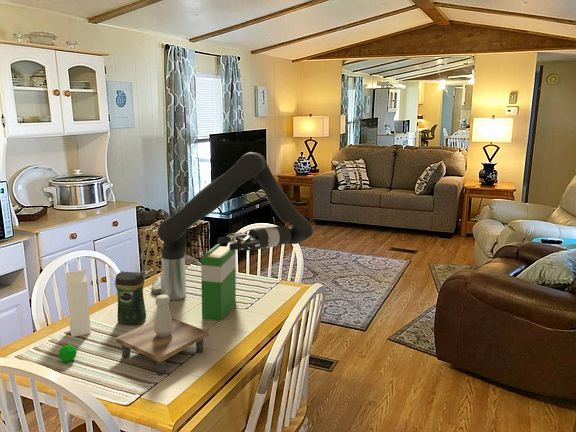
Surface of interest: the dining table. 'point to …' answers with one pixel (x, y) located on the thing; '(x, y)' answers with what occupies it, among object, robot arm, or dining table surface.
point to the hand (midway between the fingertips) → (224, 244)
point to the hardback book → (218, 282)
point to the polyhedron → (67, 353)
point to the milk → (78, 303)
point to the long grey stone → (156, 285)
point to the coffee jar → (130, 298)
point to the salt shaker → (163, 317)
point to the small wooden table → (162, 342)
